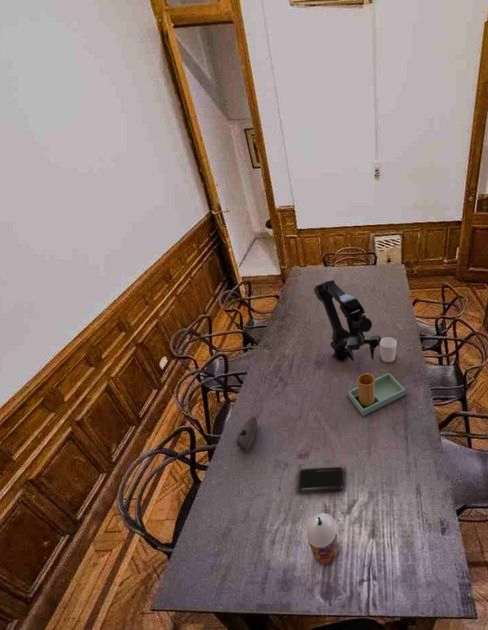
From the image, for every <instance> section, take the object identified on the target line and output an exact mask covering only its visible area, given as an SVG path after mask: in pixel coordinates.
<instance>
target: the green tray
mask: <svg viewBox="0 0 488 630" xmlns="http://www.w3.org/2000/svg"><path fill="white" fill-rule="evenodd" d="M374 379H375V397H376V398H377V399H378V401H379V402H377V403H375V404H373V405H371V406H369V407H367V408H365V409H363V408H362V407H361V405H360V404H359V403H358V401H357V400H356V399H355V398H354V397H357V396H359V394H358V386H357V387H354V388H352V389H351V390H348V391H347V396H348V399H350V401H351V402H352V403H353V405H354V406H355V408H356V409H357V410H358V411H359V412H360V414H361V415H362V416H364V417H365V416H366V415H368V414H370V413H372V412H373V411H376V410H378V409H381V408H382V407H384V406H386V405H387V404H390V403H392V402H394V401H396V400H398V399H400V398H401V397H404V396H405V395H406V388H405V387H404V386H403V385H402V384H401V383H400V382H399V381H398V380H397V379H396V378H395V377H394V376H393V375H392V374H391V373H390V372H387V373H385V374H383V375H381V376H379V377H377V378H374Z"/></svg>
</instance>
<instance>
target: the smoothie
mask: <svg viewBox="0 0 488 630" xmlns="http://www.w3.org/2000/svg"><path fill="white" fill-rule="evenodd" d="M337 532H338V526H337V522H336V520H335V518H334V517H333V516H331V515H330V514H328V513H318V514H315V515H314V516H312V517H311V518H310V520H309V521H308V522H307V524H306V526H305V538H306V540H307V542H308V544H309V547H310V549H311V552H312V554H313V557H314V558H315V560H316V561H317V562H318V563H319V564H322V565H327V564H329V563H331V562H332V561H334V559H335V557H336V556H337V553H338V533H337Z"/></svg>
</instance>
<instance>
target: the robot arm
mask: <svg viewBox="0 0 488 630" xmlns="http://www.w3.org/2000/svg"><path fill="white" fill-rule="evenodd" d="M313 292H314V293H313V294H314V295H315V296H316V298H317V300H318V301H320V302H321V303H322V305H323V306H324V310H325V312H326V315H327V318H328V320H329V323H330V326H331V329H332V336H331V339H332V341H331V342H329V344H330V347H331V348H332V349H333V351H334V354H333V355H332V357H333V358H335V359H337V360H339V361H341V362H343V361H345V360H346V359H347V358H348V357H349V358H350V360H351V362H354V361H355V359H354V358H355V357H354V352H353V351H359V350H360V349H361V347H363V346H364V345H368V346H369V347H368V348H369V350H370V357H371V360H373V361H374V358H375V353H376V352H375V351H376V348H377V347H380V342H381V339H382V338H381V336H380V335H377V334H376V335H370V337H369V338H366V335H365V334H364V333H368V332H369V331H370V330H371V329H372V327H373V323H372V320H371V319H370V318H368V317H367V316H366V314H365V313H366V312H365V308H364V307H363V305H362V304H361V303H360V301H359V299H358V298H357V297H356V296H355V297H354V296H353V295H351V294H347V293H346V292H345V291H344V290H343V289H342V288H341V287H339V285H337V284H336V282H335V280H334V279H329V280H326V281H323V282H322V283H320V284H316V285H315V286H314V288H313ZM333 299H334V300H335V301H336V302H337V303H338V304H339V309H340V311H341V312H342V314H343V317H344V318H345V319H346V325H347V329H348V330H347V329H345V328H343V325H342V322H341V320H340V317H339V314H338V312H337V311H338V310H337V309H336V306H335V303H334V301H333Z"/></svg>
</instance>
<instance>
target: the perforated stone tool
mask: <svg viewBox="0 0 488 630" xmlns="http://www.w3.org/2000/svg"><path fill="white" fill-rule="evenodd" d="M257 428H258V420H257V417H255V416H252V417H250V418H249V419H248V420H246V422H244V425H243V426H242V428H241V429H240V431H239V432H238V434H237V437H236V439H235V443H236V447H237V448H239V450H240V451H242V452H244V453H248V452H249V450H250V448H251V447H252V444H253V442H254V439H255V436H256V433H257Z"/></svg>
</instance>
